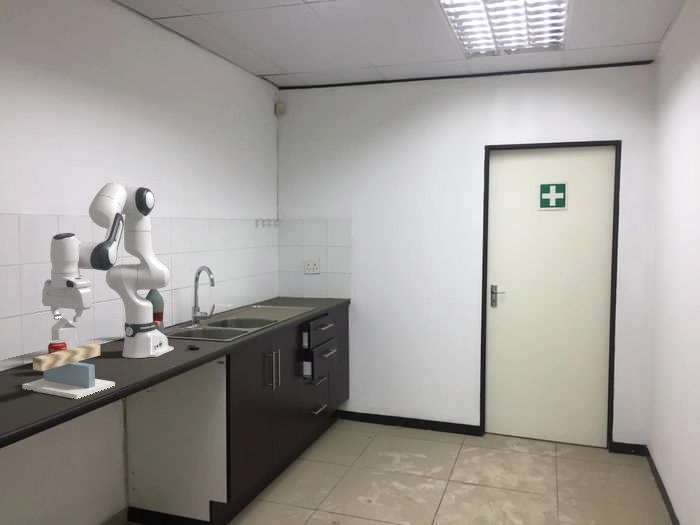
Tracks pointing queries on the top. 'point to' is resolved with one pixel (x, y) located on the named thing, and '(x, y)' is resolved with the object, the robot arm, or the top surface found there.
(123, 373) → the top surface
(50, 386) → the ridge stand
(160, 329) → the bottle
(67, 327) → the milk carton
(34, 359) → the maple bar
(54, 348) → the beverage can
